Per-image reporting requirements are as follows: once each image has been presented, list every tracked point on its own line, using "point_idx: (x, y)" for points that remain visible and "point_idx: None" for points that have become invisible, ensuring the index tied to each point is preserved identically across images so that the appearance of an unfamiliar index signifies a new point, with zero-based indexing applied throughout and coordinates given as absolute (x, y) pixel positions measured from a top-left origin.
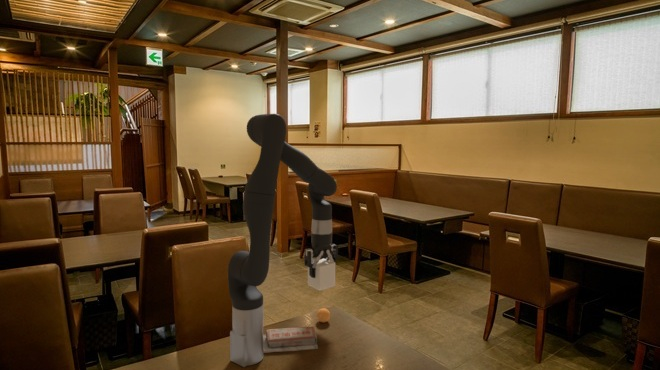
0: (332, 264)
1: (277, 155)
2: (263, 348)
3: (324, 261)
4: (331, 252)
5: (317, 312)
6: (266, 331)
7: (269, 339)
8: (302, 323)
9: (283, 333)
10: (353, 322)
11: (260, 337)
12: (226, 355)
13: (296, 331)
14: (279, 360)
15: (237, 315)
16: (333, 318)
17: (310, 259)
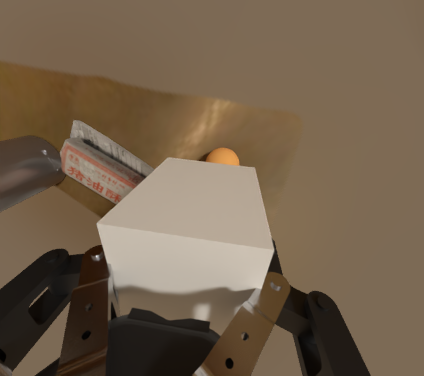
0: (218, 331)
1: None
2: (52, 182)
3: (211, 295)
4: (332, 373)
5: (210, 156)
6: (60, 152)
7: (65, 172)
8: (181, 130)
9: (91, 181)
10: (266, 204)
11: (17, 203)
12: (6, 128)
13: (117, 191)
14: (86, 198)
15: None
16: (252, 163)
17: (27, 342)
